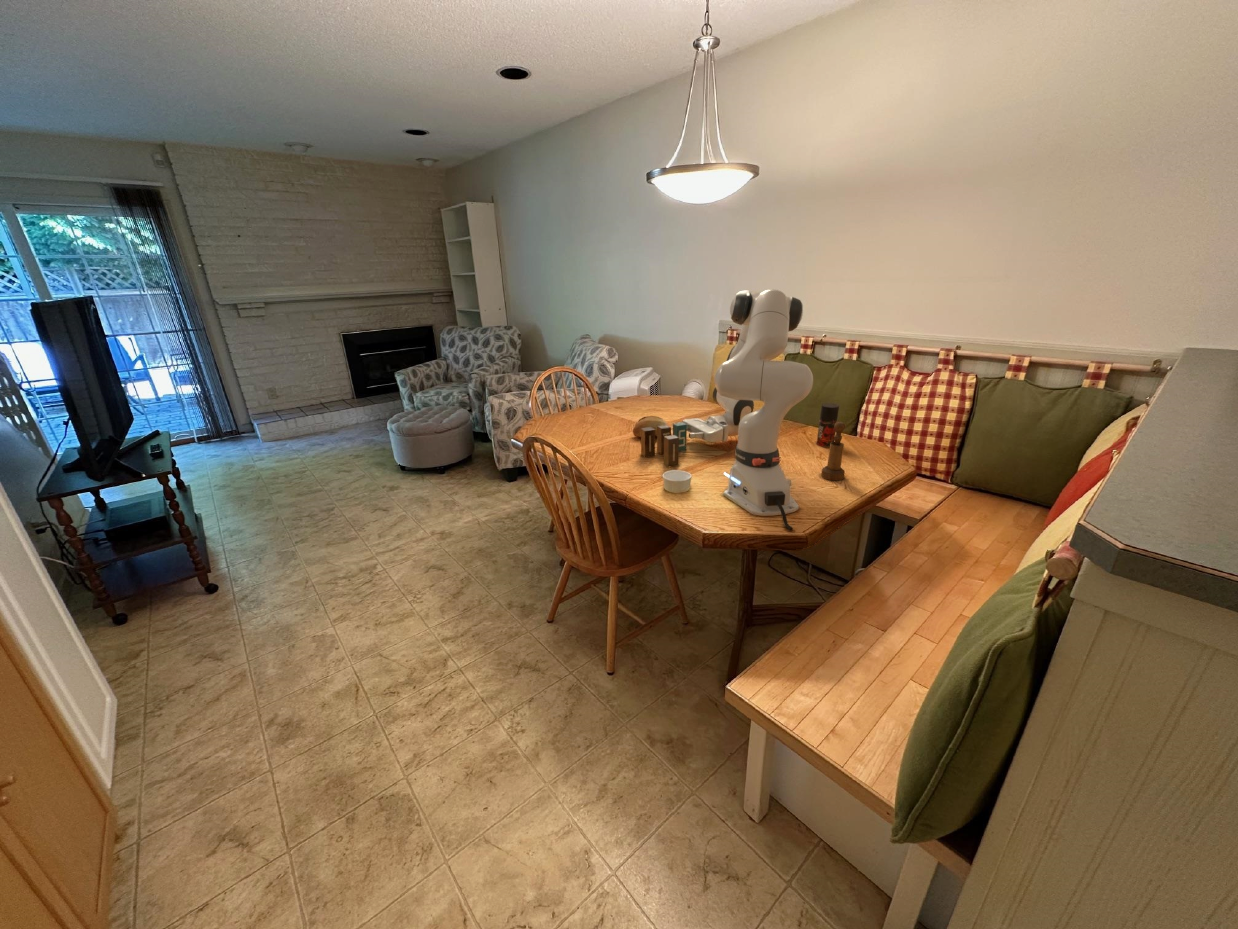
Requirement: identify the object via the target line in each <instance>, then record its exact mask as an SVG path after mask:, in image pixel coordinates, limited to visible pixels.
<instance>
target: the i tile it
mask: <svg viewBox="0 0 1238 929" xmlns="http://www.w3.org/2000/svg"><path fill="white" fill-rule="evenodd" d="M640 455H641V456H643V457H644V458H649V457H655V456H656V436H655V429H653V428H651V427H648V428H641V437H640Z"/></svg>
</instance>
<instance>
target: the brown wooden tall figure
mask: <svg viewBox="0 0 1238 929" xmlns="http://www.w3.org/2000/svg"><path fill="white" fill-rule="evenodd" d="M834 429H835V431H836V432H835V436H834V442H831V443H830V447H829V451H828V457H827V465H826V466H824V467H822V468H821V474H820V475H821V477H822V478H823V479H825V480H829V481H841V480H844V479H845V474H846V473H845V469H843V468H842V462H843V454H844V448H845V444H844V443H843V442H841V441H842V439H843V436H842V433H843V432H844V430H845V429H846V424H845V423H844V422H842V421H837V423H835V425H834Z"/></svg>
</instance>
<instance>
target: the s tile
mask: <svg viewBox="0 0 1238 929" xmlns="http://www.w3.org/2000/svg"><path fill="white" fill-rule="evenodd" d="M687 434H688V431H687V424H685V423H683V422H682V421H681V422H674V423H672V435H675V436H677V437H679V452H682V451H683V452H684V451H687V440H688V439H687V438H688V437H687Z"/></svg>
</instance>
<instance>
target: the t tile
mask: <svg viewBox="0 0 1238 929" xmlns="http://www.w3.org/2000/svg"><path fill="white" fill-rule="evenodd" d="M670 435H672V427H671V426H670V425H668V424H667V425H661V426H657V436H656V453H658V454H660V455H664V436H670Z"/></svg>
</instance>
